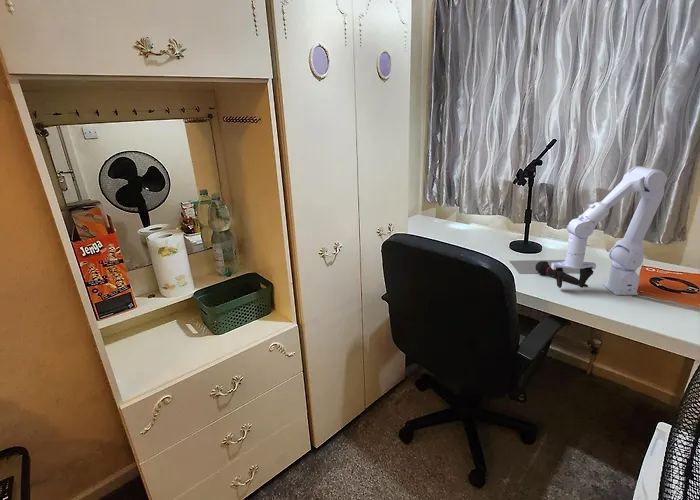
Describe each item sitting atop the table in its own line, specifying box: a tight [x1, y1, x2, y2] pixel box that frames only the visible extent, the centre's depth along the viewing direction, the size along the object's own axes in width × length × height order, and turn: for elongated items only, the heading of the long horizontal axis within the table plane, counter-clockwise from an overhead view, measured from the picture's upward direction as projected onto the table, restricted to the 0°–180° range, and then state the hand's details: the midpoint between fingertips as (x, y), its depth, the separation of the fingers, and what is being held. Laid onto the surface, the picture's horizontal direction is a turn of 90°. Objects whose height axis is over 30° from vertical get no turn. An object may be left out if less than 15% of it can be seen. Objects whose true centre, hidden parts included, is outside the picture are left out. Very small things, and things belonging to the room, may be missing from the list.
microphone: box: [535, 261, 589, 288], centre depth 150 cm, size 6×6×20 cm
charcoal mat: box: [509, 259, 580, 275], centre depth 163 cm, size 14×26×1 cm, turn 85°
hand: (569, 286), depth 141 cm, fingers open, 7 cm apart
